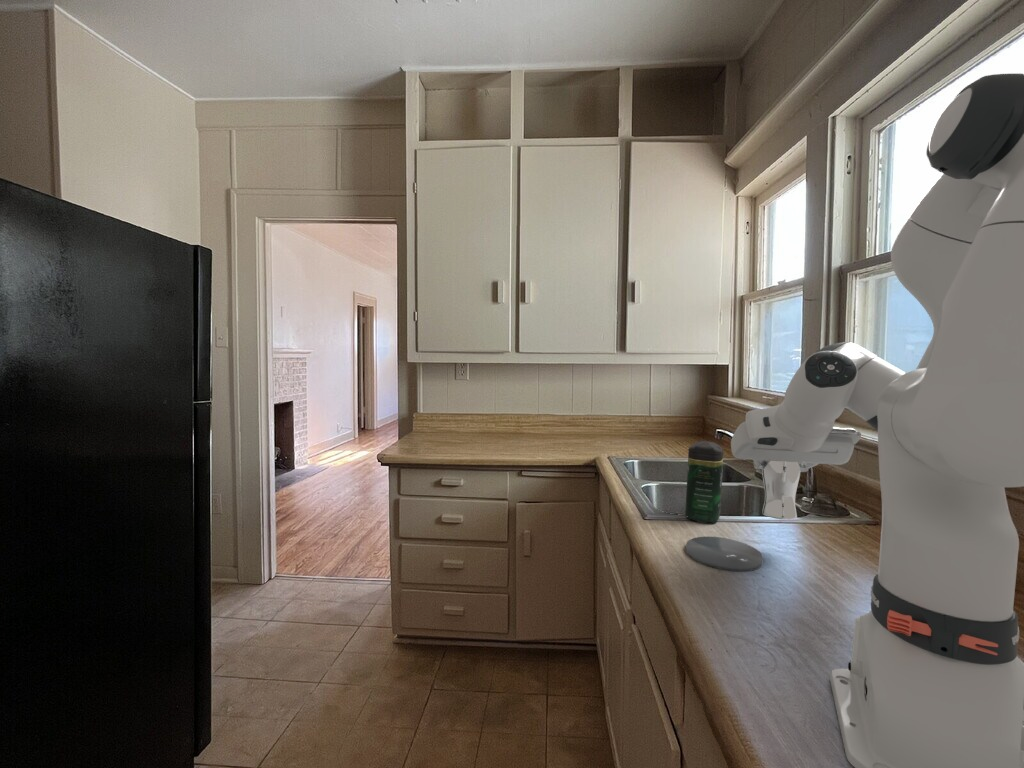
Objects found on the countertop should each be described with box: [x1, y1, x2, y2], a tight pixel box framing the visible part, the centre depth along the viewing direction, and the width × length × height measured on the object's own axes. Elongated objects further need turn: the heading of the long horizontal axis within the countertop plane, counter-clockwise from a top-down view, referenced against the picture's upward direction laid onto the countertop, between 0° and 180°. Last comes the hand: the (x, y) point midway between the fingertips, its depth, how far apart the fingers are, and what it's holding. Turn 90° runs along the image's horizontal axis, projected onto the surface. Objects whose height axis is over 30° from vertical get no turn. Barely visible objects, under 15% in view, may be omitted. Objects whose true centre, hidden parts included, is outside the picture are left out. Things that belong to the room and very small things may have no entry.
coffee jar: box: [684, 440, 724, 524], centre depth 117 cm, size 10×8×19 cm
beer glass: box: [761, 460, 802, 521], centre depth 97 cm, size 7×7×15 cm
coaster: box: [685, 536, 764, 572], centre depth 96 cm, size 14×14×1 cm
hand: (779, 467), depth 97 cm, fingers closed on beer glass, 7 cm apart
